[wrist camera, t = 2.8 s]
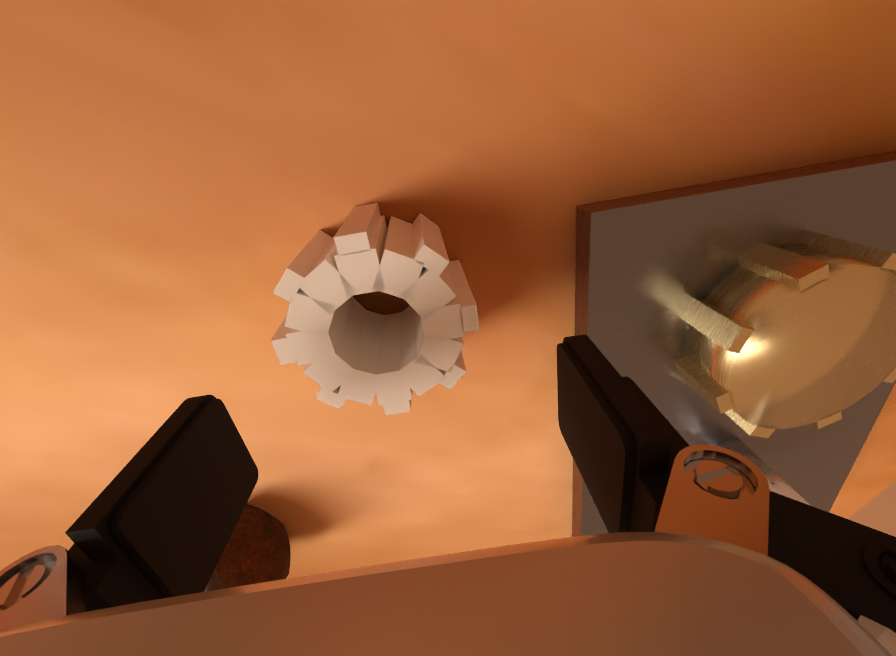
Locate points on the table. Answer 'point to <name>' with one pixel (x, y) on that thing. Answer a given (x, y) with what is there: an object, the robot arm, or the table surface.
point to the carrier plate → (695, 275)
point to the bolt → (253, 552)
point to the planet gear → (368, 333)
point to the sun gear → (794, 334)
